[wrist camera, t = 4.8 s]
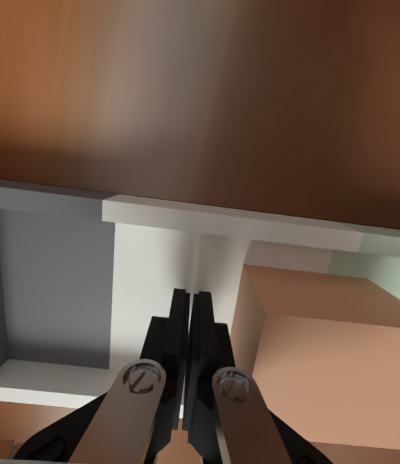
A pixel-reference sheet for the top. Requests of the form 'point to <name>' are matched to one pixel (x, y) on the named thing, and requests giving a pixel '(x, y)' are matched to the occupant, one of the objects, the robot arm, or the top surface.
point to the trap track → (139, 276)
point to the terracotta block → (322, 353)
